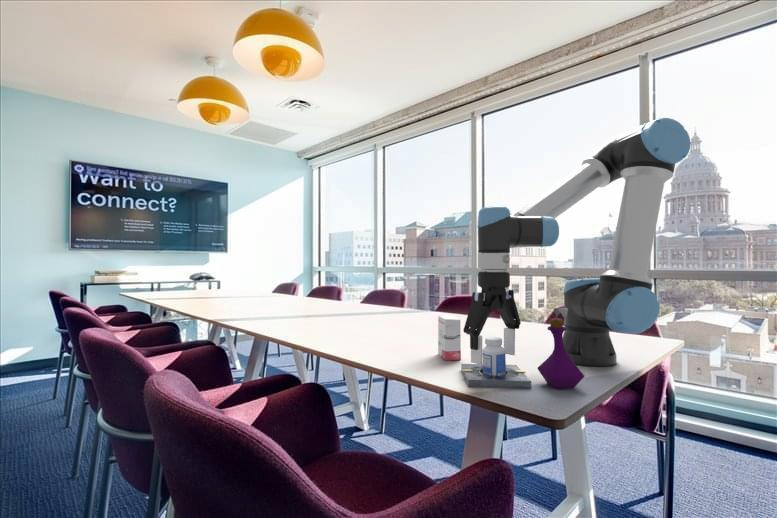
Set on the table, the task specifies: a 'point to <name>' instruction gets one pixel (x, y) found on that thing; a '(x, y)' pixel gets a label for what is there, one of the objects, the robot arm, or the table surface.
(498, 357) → the pill bottle
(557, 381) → the perfume bottle
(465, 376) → the socket plate
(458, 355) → the ink box
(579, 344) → the robot arm
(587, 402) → the table surface
